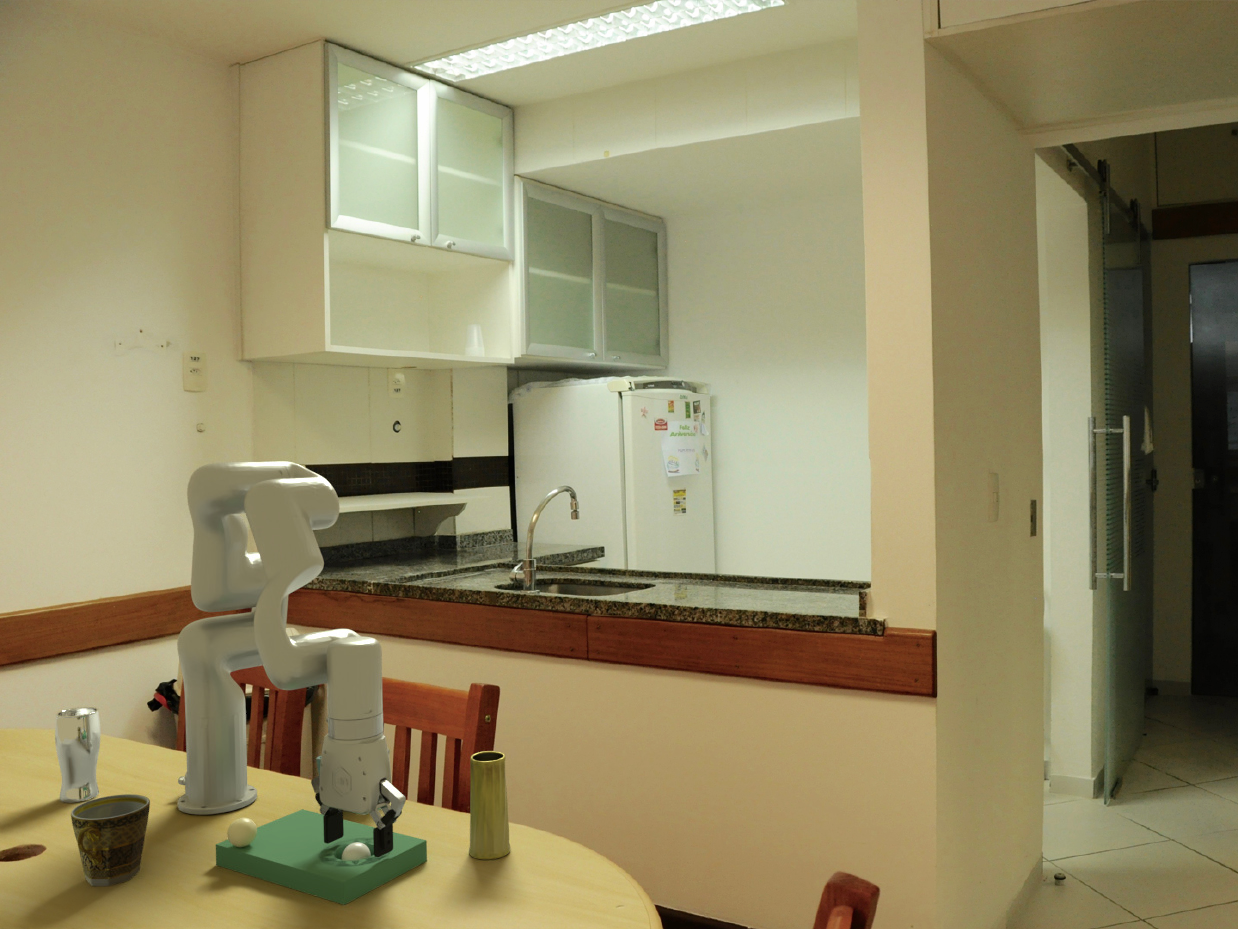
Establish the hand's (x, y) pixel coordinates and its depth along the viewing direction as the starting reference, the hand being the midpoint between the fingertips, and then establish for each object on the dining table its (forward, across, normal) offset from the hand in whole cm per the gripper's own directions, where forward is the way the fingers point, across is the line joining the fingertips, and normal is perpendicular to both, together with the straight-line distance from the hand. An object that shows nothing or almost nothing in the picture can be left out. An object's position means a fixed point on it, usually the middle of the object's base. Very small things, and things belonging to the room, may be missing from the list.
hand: (358, 846), depth 142 cm
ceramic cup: (+4, -30, -19) cm, 35 cm away
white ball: (+2, 0, 0) cm, 2 cm away
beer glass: (+4, -66, -1) cm, 67 cm away
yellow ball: (-1, -16, -6) cm, 18 cm away
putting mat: (+4, -8, 0) cm, 8 cm away
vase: (+4, +12, +15) cm, 19 cm away
